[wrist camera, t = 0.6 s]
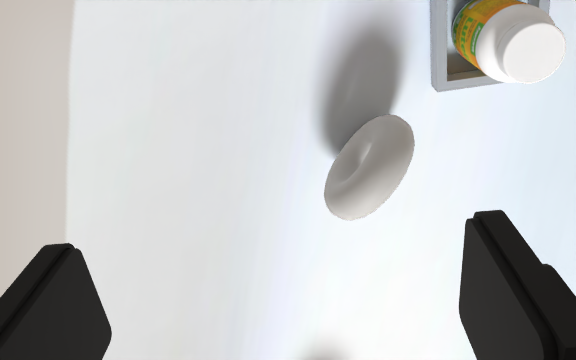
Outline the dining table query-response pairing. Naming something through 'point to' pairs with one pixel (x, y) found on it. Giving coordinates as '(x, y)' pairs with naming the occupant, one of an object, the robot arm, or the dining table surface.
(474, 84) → the grey square frame
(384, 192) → the donut
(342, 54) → the dining table surface
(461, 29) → the supplement bottle
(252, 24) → the dining table surface
